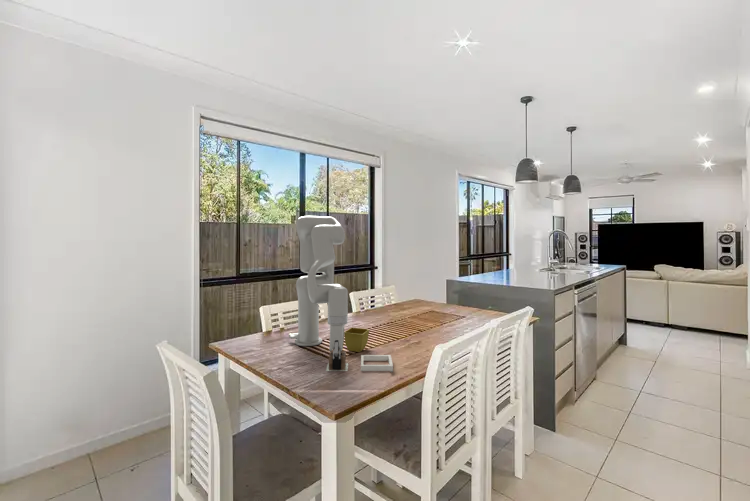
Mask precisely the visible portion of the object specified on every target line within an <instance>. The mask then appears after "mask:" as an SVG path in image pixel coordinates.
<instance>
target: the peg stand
mask: <svg viewBox="0 0 750 501" xmlns="http://www.w3.org/2000/svg"><path fill="white" fill-rule="evenodd" d="M338 350H340V349H338ZM338 353H339V352H338ZM348 369H349V363H348V362H347V363H346V365H345V370H329V362H328V363H327V365H326V369H325V372H348V371H349V370H348Z"/></svg>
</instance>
